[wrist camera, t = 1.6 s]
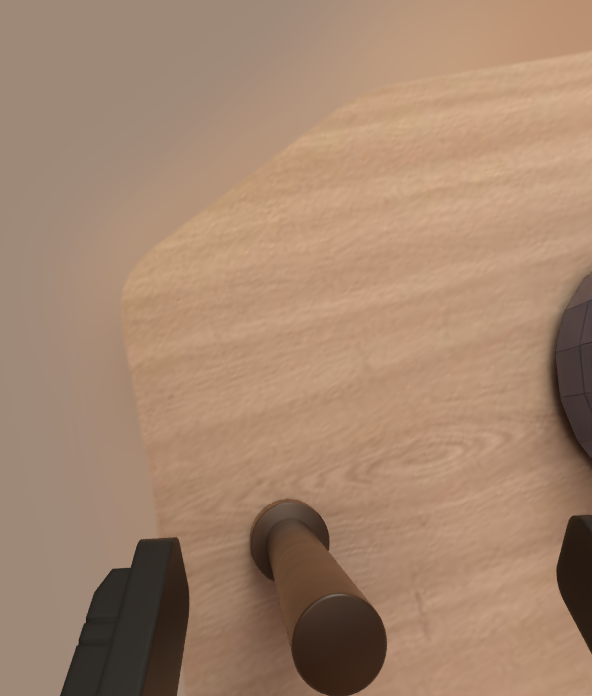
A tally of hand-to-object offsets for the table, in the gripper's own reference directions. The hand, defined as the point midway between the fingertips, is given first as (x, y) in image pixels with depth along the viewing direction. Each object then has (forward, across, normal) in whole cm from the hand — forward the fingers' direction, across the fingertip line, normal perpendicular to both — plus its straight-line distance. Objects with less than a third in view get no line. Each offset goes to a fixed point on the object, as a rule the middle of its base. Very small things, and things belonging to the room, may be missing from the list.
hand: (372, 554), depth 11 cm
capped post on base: (+13, +2, +14) cm, 19 cm away
